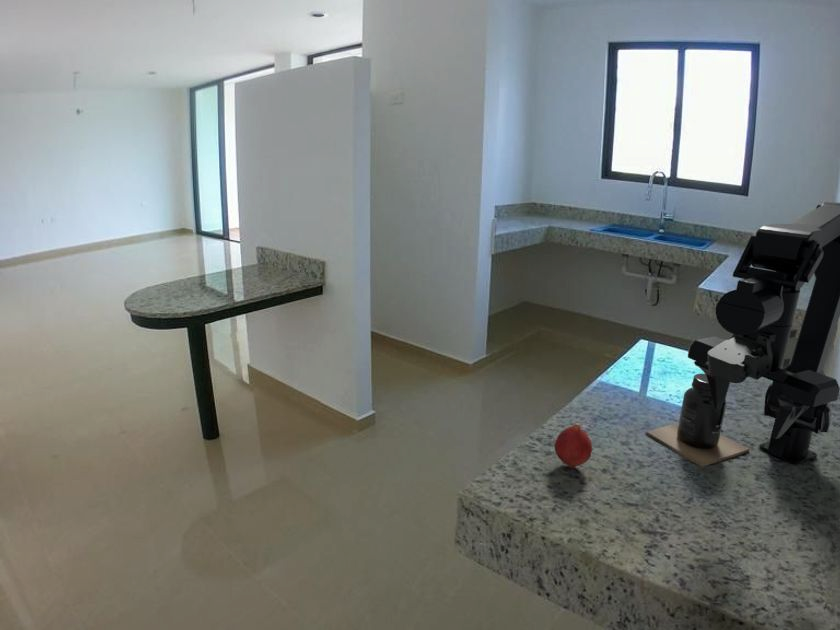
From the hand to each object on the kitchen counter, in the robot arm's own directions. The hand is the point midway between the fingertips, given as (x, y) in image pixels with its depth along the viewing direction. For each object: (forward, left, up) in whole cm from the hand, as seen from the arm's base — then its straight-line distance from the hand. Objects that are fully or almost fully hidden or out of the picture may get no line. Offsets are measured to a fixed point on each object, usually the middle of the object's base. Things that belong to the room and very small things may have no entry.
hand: (745, 423), depth 82 cm
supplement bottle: (-10, -14, -13) cm, 21 cm away
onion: (+16, -17, -13) cm, 27 cm away
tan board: (-10, -14, -13) cm, 22 cm away
